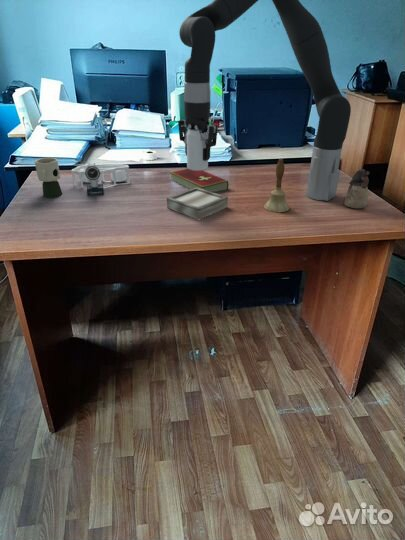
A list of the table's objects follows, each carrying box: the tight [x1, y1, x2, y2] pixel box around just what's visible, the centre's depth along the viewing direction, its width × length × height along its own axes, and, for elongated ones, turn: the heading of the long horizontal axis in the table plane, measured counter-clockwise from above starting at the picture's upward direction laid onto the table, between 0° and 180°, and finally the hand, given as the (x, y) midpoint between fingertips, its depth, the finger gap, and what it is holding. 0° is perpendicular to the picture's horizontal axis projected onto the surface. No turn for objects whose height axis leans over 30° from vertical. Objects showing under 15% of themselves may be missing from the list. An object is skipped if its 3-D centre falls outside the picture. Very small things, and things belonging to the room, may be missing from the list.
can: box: [186, 128, 209, 171], centre depth 121 cm, size 6×6×12 cm
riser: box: [166, 187, 229, 220], centre depth 130 cm, size 14×14×4 cm
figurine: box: [343, 168, 370, 209], centre depth 131 cm, size 7×7×12 cm
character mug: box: [34, 157, 63, 199], centre depth 135 cm, size 11×7×13 cm, turn 4°
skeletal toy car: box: [71, 163, 131, 189], centre depth 147 cm, size 20×11×7 cm, turn 94°
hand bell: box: [263, 158, 290, 213], centre depth 127 cm, size 8×8×16 cm
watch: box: [85, 163, 105, 196], centre depth 138 cm, size 6×8×11 cm
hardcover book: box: [168, 167, 229, 193], centre depth 149 cm, size 12×21×4 cm, turn 37°
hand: (197, 157), depth 122 cm, fingers closed on can, 6 cm apart
